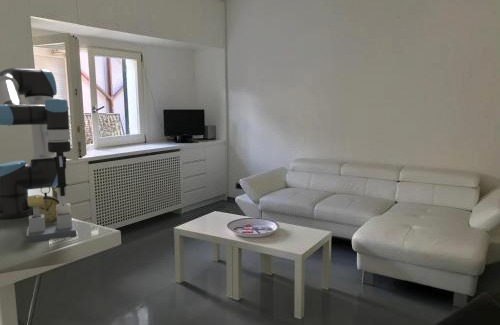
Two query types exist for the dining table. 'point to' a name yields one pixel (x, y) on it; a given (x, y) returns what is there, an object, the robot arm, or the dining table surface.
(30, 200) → the knob mustard
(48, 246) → the dining table surface
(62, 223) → the mount
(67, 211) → the knob ivory
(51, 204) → the alarm clock
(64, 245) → the dining table surface
